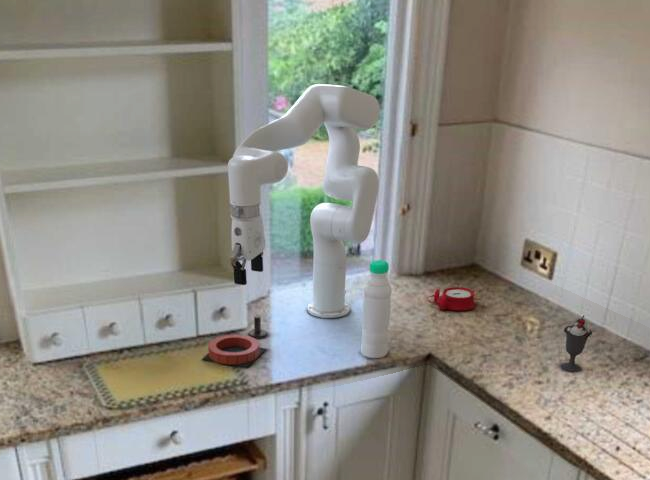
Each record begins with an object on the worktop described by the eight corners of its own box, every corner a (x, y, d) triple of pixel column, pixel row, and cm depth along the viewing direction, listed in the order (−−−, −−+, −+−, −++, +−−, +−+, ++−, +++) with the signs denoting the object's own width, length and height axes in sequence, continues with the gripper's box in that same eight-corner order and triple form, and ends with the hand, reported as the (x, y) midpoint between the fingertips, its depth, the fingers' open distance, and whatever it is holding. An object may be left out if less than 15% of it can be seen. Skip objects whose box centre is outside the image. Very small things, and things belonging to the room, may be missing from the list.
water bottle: (386, 360, 209) (392, 267, 196) (359, 358, 211) (363, 266, 198) (388, 349, 215) (394, 258, 202) (362, 347, 216) (366, 257, 203)
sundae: (571, 375, 200) (582, 319, 192) (551, 365, 205) (561, 310, 198) (590, 370, 203) (602, 314, 195) (570, 360, 208) (581, 305, 200)
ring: (223, 340, 220) (222, 331, 219) (267, 348, 216) (267, 339, 214) (200, 359, 210) (199, 350, 209) (246, 367, 205) (245, 358, 204)
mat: (223, 342, 220) (223, 341, 220) (266, 350, 216) (266, 348, 215) (202, 359, 211) (202, 358, 211) (247, 368, 206) (247, 366, 206)
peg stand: (253, 330, 227) (253, 312, 225) (269, 333, 226) (269, 314, 223) (245, 336, 224) (245, 318, 221) (262, 339, 222) (261, 321, 219)
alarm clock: (484, 299, 236) (436, 290, 233) (477, 318, 239) (430, 310, 236) (474, 286, 245) (428, 278, 242) (467, 305, 248) (422, 297, 245)
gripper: (244, 221, 186) (247, 291, 195) (274, 201, 199) (276, 268, 208) (215, 218, 189) (220, 287, 198) (247, 199, 202) (250, 264, 211)
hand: (249, 277), depth 203 cm, fingers open, 9 cm apart
